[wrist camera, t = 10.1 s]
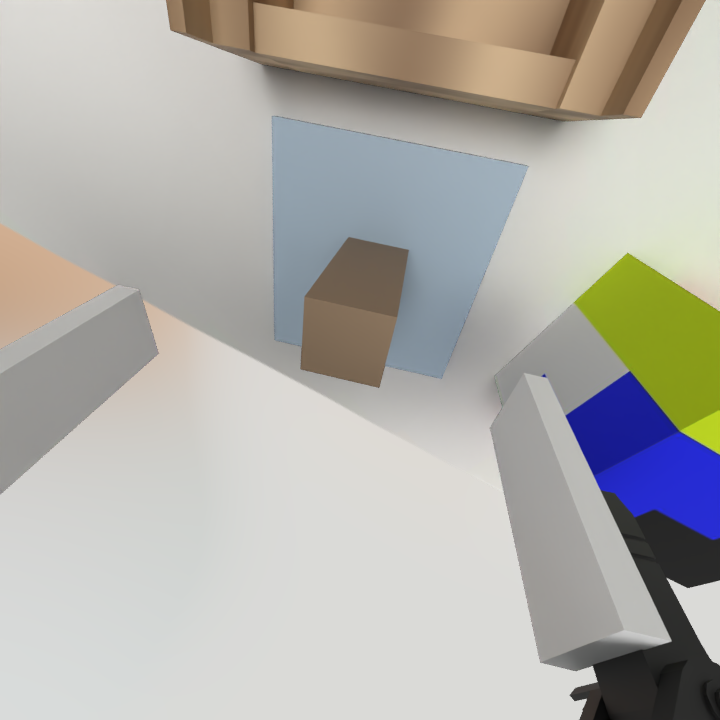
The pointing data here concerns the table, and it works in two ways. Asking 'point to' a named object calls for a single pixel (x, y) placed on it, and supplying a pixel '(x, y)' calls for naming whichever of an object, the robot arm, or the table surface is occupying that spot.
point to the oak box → (463, 47)
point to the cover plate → (393, 214)
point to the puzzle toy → (642, 406)
